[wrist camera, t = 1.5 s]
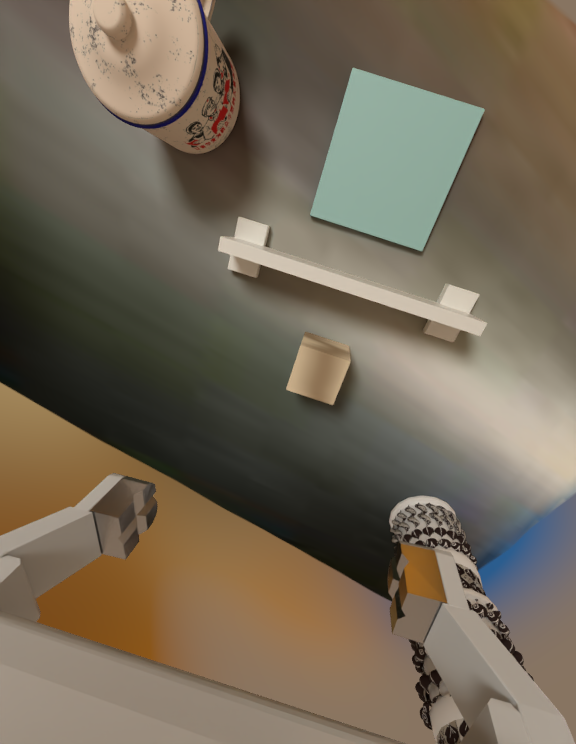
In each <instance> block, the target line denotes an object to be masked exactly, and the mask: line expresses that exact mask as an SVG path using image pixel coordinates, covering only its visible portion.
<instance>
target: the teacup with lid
mask: <svg viewBox="0 0 576 744" xmlns="http://www.w3.org/2000/svg"><path fill="white" fill-rule="evenodd" d="M214 5H215V0H70V7H69V26H70V35H71V41H72V46H73V50H74V53H75V57H76V60H77V63H78V65H79V68H80V70H81V72H82V75H83V77H84V79H85V81H86V82H87V84H88V86H89V87H90V89H91V90H92V92H93V93H94V95H95V96H96V97H97V99H98V100H99V101H100V103H101V104H102V105H103V106H104V107H105V108H106V109H107V110H108V111H109V112H110V113H111V114H113V115H114V116H115V117H117V118H118V119H120V120H121V121H123V122H125V123H127V124H129V125H132V126H135V127H138V128H142V129H144V130H146V131H147V132H149V133H151V134H153V135H154V136H156V137H158V138H159V139H161V140H163V141H165V142H166V143H168V144H170V145H171V146H173V147H175V148H176V149H178V150H181V151H183V152H186V153H191V154H201V153H206V152H209V151H211V150H213V149H215V148H217V147H218V146H219V145H221V144H222V143H223V142H224V141H225V139H226V138H227V137H228V136H229V134H230V132H231V131H232V129H233V127H234V125H235V122H236V119H237V116H238V111H239V104H240V88H239V81H238V77H237V73H236V70H235V67H234V64H233V62H232V60H231V58H230V56H229V55H228V53H227V51H226V49H225V48H224V46H223V44H222V42H221V41H220V39H219V37H218V35H217V34H216V32H215V30H214V28H213V27H212V25H211V23H210V20H211V16H212V13H213V9H214Z"/></svg>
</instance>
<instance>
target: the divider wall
mask: <svg viewBox="0 0 576 744" xmlns="http://www.w3.org/2000/svg"><path fill="white" fill-rule="evenodd" d="M269 230H270V226H267V225H264V224H261V223H258V222H255V221H252V220H249V219H246V218H243V217H238V221H237V226H236V231H235V236H234V237H224V236H221V237H220V242H219V248H218V251H221V252H224V253H227V254H230V255H231V256H230V260H229V265H228V269H230V270H233V271H236V272H239V273H242V274H245V275H248V276H251V277H254V278H257V277H258V275H259V271H260V267H261V265H264V266H267V267H270V268H273V269H276V270H279V271H282V272H285V273H288V274H291V275H294V276H297V277H300V278H303V279H307V280H310V281H313V282H316V283H319V284H322V285H325V286H328V287H331V288H334V289H337V290H340V291H343V292H346V293H349V294H352V295H356V296H359V297H362V298H365V299H368V300H371V301H374V302H377V303H380V304H383V305H386V306H389V307H392V308H395V309H398V310H402V311H405V312H408V313H411V314H414V315H417V316H420V317H423V318H426V319H428V321H427V323H426V325H425V327H424V329H423V332H424V333H426V334H429V335H432V336H435V337H438V338H441V339H444V340H447V341H450V342H453V343H454V341H455V339H456V337H457V335H458V333H459V332H460V330H463V331H466V332H469V333H472V334H475V335H478V336H480V335H481V334H482V332H483V330H484V328H485V327H486V325H487V323H486V322H484V321H482V320H481V319H479V318H477V317H475V316H473V315H471V314H469V313H470V311H471V309H472V308H473V306H474V304H475V302H476V300H477V298H478V297H479V295H480V294H477V293H474V292H471V291H468V290H465V289H462V288H459V287H456V286H453V285H450V284H445V286H444V288H443V290H442V292H441V294H440V296H439V298H438V300H437V302H435V301H432V300H429V299H426V298H423V297H420V296H416V295H413V294H410V293H407V292H404V291H401V290H398V289H395V288H392V287H389V286H386V285H383V284H380V283H377V282H373V281H370V280H367V279H364V278H361V277H358V276H355V275H352V274H349V273H346V272H343V271H340V270H337V269H333V268H330V267H327V266H324V265H321V264H318V263H315V262H312V261H309V260H306V259H303V258H300V257H297V256H293V255H290V254H287V253H284V252H281V251H278V250H275V249H272V248H269V247H266V242H267V238H268V234H269Z"/></svg>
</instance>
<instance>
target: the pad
mask: <svg viewBox="0 0 576 744" xmlns="http://www.w3.org/2000/svg"><path fill="white" fill-rule="evenodd" d="M484 110H485V109H483V108H480V107H476V106H473V105H470V104H467V103H464V102H461V101H457V100H454V99H451V98H448V97H445V96H441V95H438V94H435V93H432V92H429V91H426V90H422V89H419V88H416V87H413V86H410V85H406V84H403V83H400V82H397V81H394V80H391V79H387V78H384V77H381V76H378V75H375V74H371V73H368V72H365V71H362V70H359V69H356V68H353V69H352V72H351V76H350V79H349V83H348V86H347V90H346V93H345V96H344V100H343V103H342V107H341V110H340V114H339V117H338V121H337V124H336V127H335V131H334V134H333V138H332V141H331V145H330V148H329V152H328V155H327V159H326V162H325V165H324V169H323V172H322V176H321V179H320V183H319V186H318V190H317V193H316V196H315V200H314V203H313V207H312V210H311V214H310V216H313V217H317V218H320V219H323V220H326V221H329V222H332V223H335V224H338V225H341V226H344V227H347V228H351V229H354V230H357V231H360V232H363V233H366V234H369V235H372V236H375V237H378V238H382V239H385V240H388V241H391V242H394V243H397V244H400V245H403V246H406V247H409V248H413V249H416V250H419V251H423V248H424V246H425V244H426V242H427V239H428V237H429V235H430V233H431V230H432V228H433V226H434V224H435V221H436V219H437V217H438V214H439V212H440V210H441V208H442V205H443V203H444V201H445V199H446V196H447V194H448V192H449V190H450V187H451V185H452V183H453V180H454V178H455V176H456V174H457V171H458V169H459V167H460V165H461V162H462V160H463V158H464V156H465V153H466V151H467V149H468V146H469V144H470V142H471V140H472V137H473V135H474V133H475V131H476V128H477V126H478V124H479V122H480V119H481V117H482V115H483V112H484Z"/></svg>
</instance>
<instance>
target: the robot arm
mask: <svg viewBox="0 0 576 744" xmlns="http://www.w3.org/2000/svg"><path fill="white" fill-rule="evenodd" d="M155 492H156V489H155V484H153V483H150V482H147V481H142V480H139V479H135V478H132V477H128V476H123V475H119V474H116V473H113V474H110V475H108V476H107V477H106V478H105V479H104V480H103V481H102V482H101V483H100V484H99V485H97V486H96V488H94V489H93V490H92V491H91V492H90V493H89V494H88V495H87V496H86V497H85V498H84V499H82V500H81V502H79V503H78V504H77V505H76V506H75V507H74V508H73V507H68V508H66V509H63V510H61V511H58V512H56V513H54V514H51V515H49V516H47V517H44V518H42V519H39V520H37V521H35V522H32V523H30V524H27V525H25V526H23V527H20V528H18V529H15V530H13V531H11V532H9V533H6V534H4V535H1V536H0V744H406V743H402V742H399V741H396V740H393V739H390V738H387V737H384V736H381V735H378V734H375V733H372V732H369V731H366V730H363V729H360V728H357V727H354V726H351V725H348V724H345V723H342V722H339V721H336V720H332V719H329V718H326V717H323V716H320V715H317V714H314V713H311V712H308V711H305V710H302V709H299V708H296V707H293V706H290V705H287V704H284V703H281V702H278V701H274V700H272V699H268V698H265V697H262V696H259V695H256V694H253V693H250V692H247V691H244V690H241V689H238V688H235V687H232V686H229V685H226V684H223V683H220V682H217V681H214V680H211V679H208V678H205V677H202V676H198V675H195V674H192V673H189V672H186V671H183V670H180V669H177V668H174V667H171V666H168V665H165V664H162V663H159V662H156V661H153V660H150V659H147V658H144V657H141V656H137V655H135V654H131V653H128V652H126V651H122V650H119V649H116V648H113V647H110V646H107V645H104V644H101V643H98V642H95V641H91V640H89V639H86V638H83V637H80V636H77V635H74V634H71V633H68V632H65V631H61V630H58V629H55V628H52V627H49V626H46V625H43V624H40V623H37V622H36V621H37V620H38V619H39V618H40V610H39V607H38V604H37V602H36V598H37V597H39V596H40V595H42V594H43V593H45V592H46V591H48V590H49V589H51V588H52V587H54V586H56V585H57V584H59V583H60V582H61V581H63V580H65V579H66V578H68V577H69V576H71V575H72V574H74V573H75V572H77V571H78V570H80V569H81V568H83V567H84V566H86V565H87V564H89V563H91V562H92V561H94V560H95V559H97V558H98V557H100V556H101V554H105V555H109V556H113V557H117V558H122V559H126V558H127V557H128V556H129V554H130V553H131V552H132V550H133V549H134V548H135V546H136V545H137V543H138V542H139V534H141V533H143V532H145V531H146V530H148V528H149V527H150V526H151V524H152V523H153V520H154V518H155V516H156V513H157V501H156V499H155V498H154V497H153V494H154V493H155ZM394 549H395V557H393V558H391V561H390V565H389V571H388V593H389V594H390V596H391V597H392V599H393V601H392V604H391V607H390V616H391V627H392V634H394V635H397V636H401V637H404V638H407V639H410V640H413V641H417V642H420V643H423V644H424V645H423V646H424V648H425V650H426V651H427V653H428V655H429V657H430V659H431V660H432V662H433V664H434V666H435V668H436V669H437V671H438V673H439V675H440V677H441V678H442V680H443V682H444V684H445V686H446V687H447V689H448V691H449V693H450V695H451V696H452V698H453V700H454V702H455V704H456V706H457V707H458V709H459V711H460V713H461V715H462V716H463V718H464V720H465V722H466V724H467V725H468V727H469V730H468V732H467V733H466V735H465V736H464V738H463V739H462V741H461V742H460V743H459V744H575V742H574V739H573V737H572V735H571V732H570V730H569V728H568V726H567V723H566V721H565V718H564V717H563V716H562V715H561V713H560V712H559V711H558V710H557V709H556V707H555V706H554V705H553V704H552V703H551V701H550V700H549V699H548V698H547V697H546V695H545V694H544V693H543V692H542V691H541V690H540V688H539V687H538V686H537V685H536V684H535V682H534V681H533V680H532V679H531V677H530V676H529V675H528V674H527V673H526V671H525V670H524V669H523V668H522V667H521V665H520V664H519V663H518V662H517V661H516V659H515V658H514V657H513V656H512V655H511V653H510V652H509V651H508V650H507V649H506V647H505V646H504V645H503V644H502V643H501V642H500V640H499V639H498V638H497V637H496V636H495V634H494V633H493V632H492V631H491V630H490V628H489V627H488V626H487V625H486V624H485V622H484V621H483V620H482V619H481V618H480V616H479V615H478V614H477V613H476V612H475V611H472V610H470V609H469V606H468V603H467V599H466V596H465V593H464V589H463V586H462V583H461V580H460V576H459V573H458V570H457V567H456V563H455V560H454V557H453V555H452V554H451V552H447V551H443V550H439V549H434V548H431V547H426V546H422V545H417V544H413V543H408V542H404V541H399V540H398V541H397V543H396V545H395V548H394Z"/></svg>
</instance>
